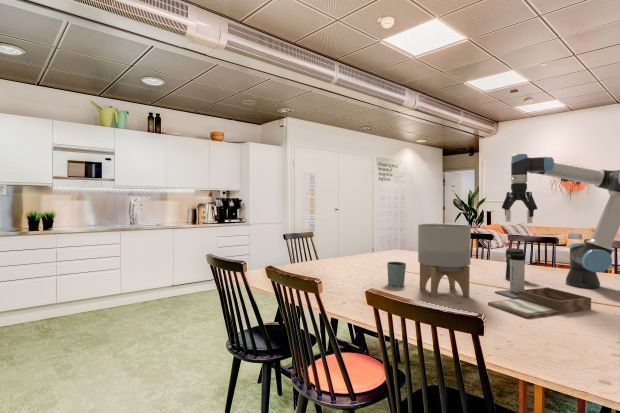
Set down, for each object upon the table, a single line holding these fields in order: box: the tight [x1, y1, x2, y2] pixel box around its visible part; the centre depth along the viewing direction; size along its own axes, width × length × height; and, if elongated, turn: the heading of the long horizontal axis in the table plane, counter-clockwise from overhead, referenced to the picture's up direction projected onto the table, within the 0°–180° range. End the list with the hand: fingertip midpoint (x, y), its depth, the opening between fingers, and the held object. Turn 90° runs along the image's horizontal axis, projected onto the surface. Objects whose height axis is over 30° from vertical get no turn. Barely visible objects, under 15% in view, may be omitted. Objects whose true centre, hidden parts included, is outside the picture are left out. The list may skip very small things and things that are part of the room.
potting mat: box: [494, 289, 519, 299], centre depth 182 cm, size 16×12×1 cm
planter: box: [417, 223, 472, 299], centre depth 186 cm, size 25×25×34 cm
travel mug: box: [509, 252, 526, 294], centre depth 182 cm, size 6×7×20 cm
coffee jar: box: [504, 247, 525, 281], centre depth 214 cm, size 10×8×19 cm
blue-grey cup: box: [386, 261, 407, 287], centre depth 203 cm, size 10×10×12 cm
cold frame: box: [487, 286, 592, 320], centre depth 161 cm, size 36×20×5 cm, turn 109°
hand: (518, 222), depth 198 cm, fingers open, 13 cm apart
